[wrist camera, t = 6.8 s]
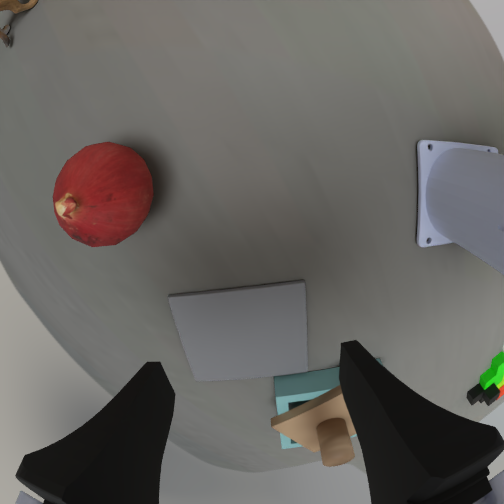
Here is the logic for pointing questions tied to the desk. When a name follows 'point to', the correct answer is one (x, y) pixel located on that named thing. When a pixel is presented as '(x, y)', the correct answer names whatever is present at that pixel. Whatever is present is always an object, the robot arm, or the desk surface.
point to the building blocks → (489, 383)
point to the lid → (321, 427)
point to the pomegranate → (103, 194)
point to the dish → (303, 392)
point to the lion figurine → (10, 2)
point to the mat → (243, 331)
